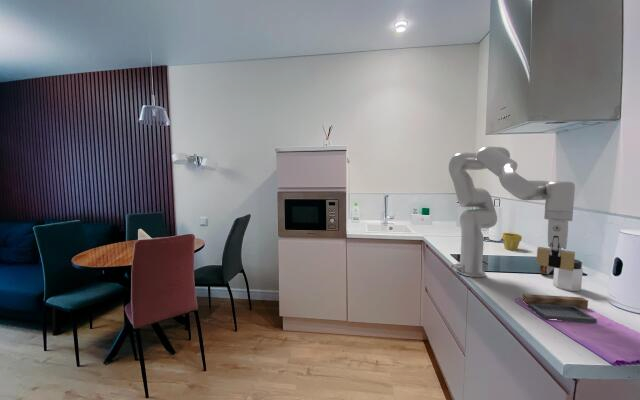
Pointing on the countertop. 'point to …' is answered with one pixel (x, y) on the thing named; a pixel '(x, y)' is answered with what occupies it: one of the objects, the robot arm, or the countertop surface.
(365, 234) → the countertop surface
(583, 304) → the door edge strip
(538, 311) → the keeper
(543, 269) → the tin
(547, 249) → the bar
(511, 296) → the countertop surface
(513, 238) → the plant pot
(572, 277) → the jar
